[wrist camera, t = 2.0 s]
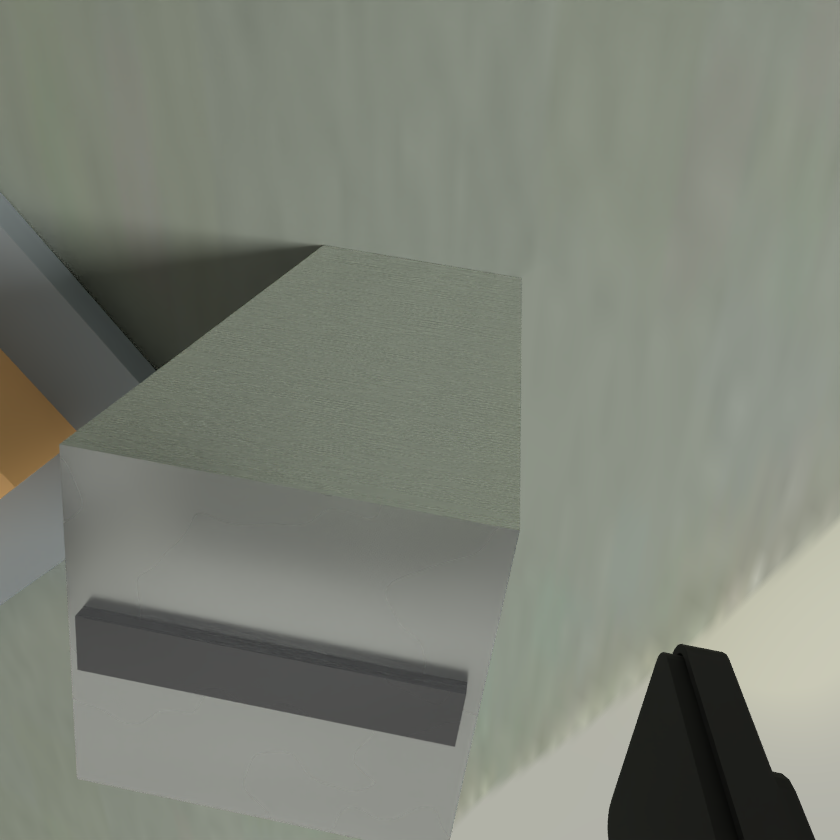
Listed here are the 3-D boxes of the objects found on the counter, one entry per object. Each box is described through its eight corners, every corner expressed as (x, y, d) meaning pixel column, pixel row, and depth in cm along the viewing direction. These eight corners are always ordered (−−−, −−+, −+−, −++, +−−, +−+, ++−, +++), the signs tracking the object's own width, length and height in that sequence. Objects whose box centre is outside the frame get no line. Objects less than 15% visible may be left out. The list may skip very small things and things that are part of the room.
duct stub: (521, 278, 19) (519, 541, 8) (486, 458, 21) (444, 870, 10) (323, 245, 19) (48, 452, 8) (307, 425, 21) (69, 790, 10)
